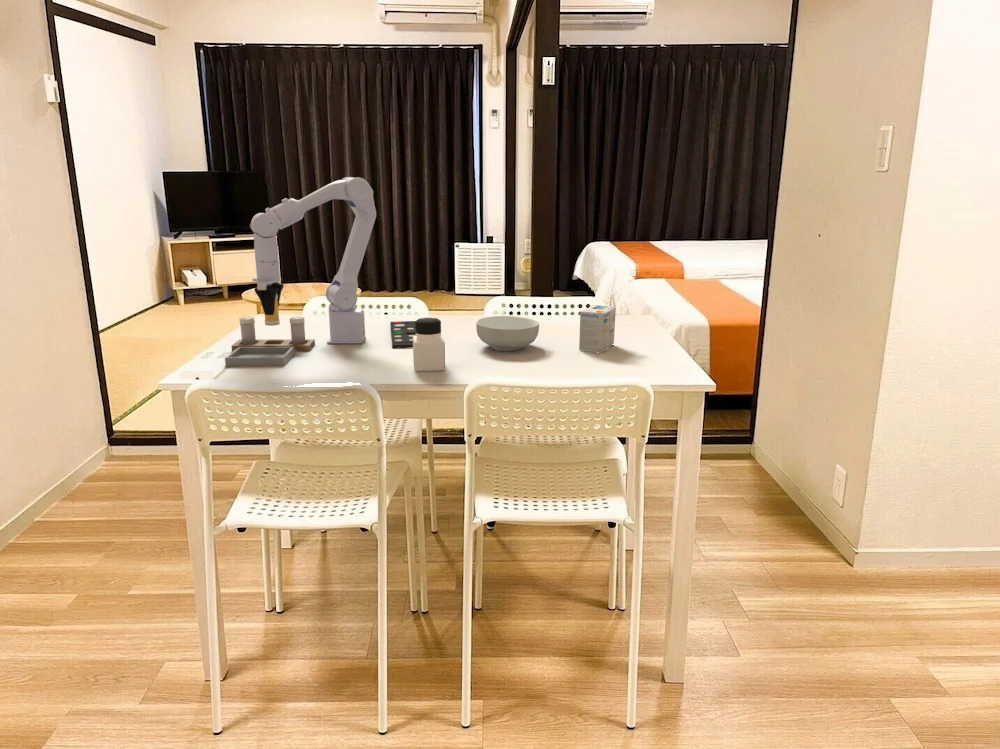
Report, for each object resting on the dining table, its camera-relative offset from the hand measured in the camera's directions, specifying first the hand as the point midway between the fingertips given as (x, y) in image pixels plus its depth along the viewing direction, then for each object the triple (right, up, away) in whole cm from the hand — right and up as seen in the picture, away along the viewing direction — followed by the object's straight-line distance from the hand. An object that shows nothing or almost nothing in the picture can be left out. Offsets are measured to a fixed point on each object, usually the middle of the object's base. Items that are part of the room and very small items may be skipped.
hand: (271, 313), depth 189 cm
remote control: (+34, -5, +19) cm, 39 cm away
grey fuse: (+6, -9, +3) cm, 11 cm away
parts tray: (0, -12, -9) cm, 16 cm away
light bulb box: (+86, -9, +5) cm, 87 cm away
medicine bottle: (+43, -15, -15) cm, 47 cm away
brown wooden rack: (0, -9, +3) cm, 9 cm away
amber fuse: (0, -3, +1) cm, 3 cm away
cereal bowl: (+62, -9, +5) cm, 63 cm away
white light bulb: (-7, -9, +2) cm, 11 cm away
